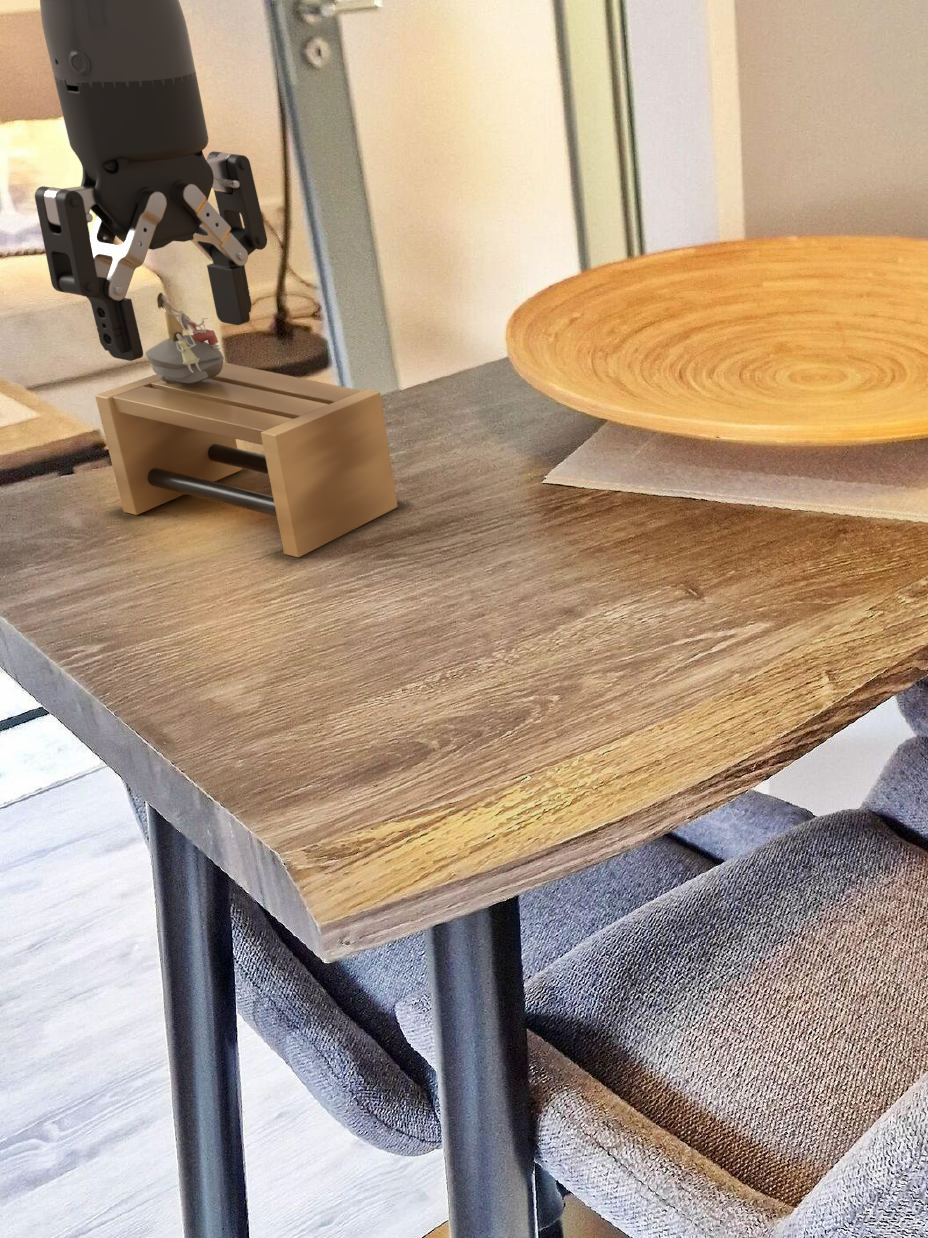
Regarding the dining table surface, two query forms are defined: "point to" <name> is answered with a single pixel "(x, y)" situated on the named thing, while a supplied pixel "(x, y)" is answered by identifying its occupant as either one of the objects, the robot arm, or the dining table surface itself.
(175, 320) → the figurine
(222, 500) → the rack
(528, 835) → the dining table surface
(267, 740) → the dining table surface
